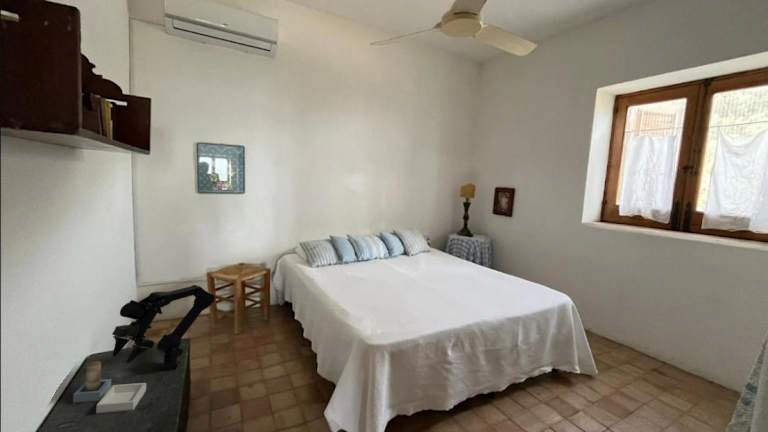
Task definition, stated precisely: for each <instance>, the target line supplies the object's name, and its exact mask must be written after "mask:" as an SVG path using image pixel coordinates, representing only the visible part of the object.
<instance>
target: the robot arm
mask: <svg viewBox="0 0 768 432" xmlns="http://www.w3.org/2000/svg"><path fill="white" fill-rule="evenodd" d="M188 297H195V298H194V300H193V303H192V307H191V308H190V309H189V311H188V312H187V313H186V314H185V316H184V317H183V318H182V319H181V321H180V322H179V323H178V324H177V326H175V328H174V330H173V331H172V332H170V333H168V334H164V335H163V336H162V338H161V339H160V340H159V341H158V342H157V343H158V344H157V345H156V351H157V352H159V353H160V355H163V363H162V366H161V368H160V369H159V370H160V371H173V370H174V371H176V370H177V369H178V367H179V366H180V363H181V360H179V357H180V356H182V355H183V352H184V349H181V348H180V346H181V342H182V338H183V336H185V334H186V332H187V331H188V330H189V329H190V327H191V326H192V324H194V322H195V321H196V320H197V318H198V317H199V316H200V315H201V313H202V312H203V311H204V310H206V309H208V308H210V306H211V305H212V304H213V303H214V301H215V300H216V299H215V295H214V294H213V293H210V292H208V291H207V290H205V289H204V288H203V287H202V286H200V285H196V284H193V285H191V286H187V287H182V288H178V289H174V290H171V291H153V292H150V293H149V295H148V296H146V297H144V298H143V299H141V300H140V301H136V300H133V299H131V300H130V301H128V302H127V303H125V304H124V305H123V306H122V307H121V308H120V311H119V315H120V316H121V317H123V318H127V319H131V320H135V321H131V323H130V324H124V325H123V324H122V325H116V326H115V328H114V330H113V331H112V334H111V335H113V336H112V338H114V341H115V343H114V347H113V352H112V357H116V356H117V355H119V353H121V351H122V349H123V348H124V347H125V346H126V345H127V344H128V343H129V342H130V340H131V341H132V342H133V341H134V344H132V345H131V346H132V350H131V352H130V354H129V357H128V358H127V360H126V361H125V362H126V363H127V364H130V363H131V362H132V361H134V360H135V359H136V358H137V357H139V356H140V355H141V354H143V353H144V352H146V351H148V350H150V349H153V348H154V345H155V341H154V340H152V339H150V338H146V337H147V336H146V335H145V334H146V333H147V332H148V330H149V329H150V330H151V329H152V326H151V324H152V323H153V321H154V319H155V318H156V316H157V314H159V315H162V314H163V311H162V308H164V307H166V306H169V305H170V304H171V303H172V302H174V301H177V300H182V299H184V298H185V299H186V298H188Z"/></svg>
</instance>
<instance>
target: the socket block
mask: <svg viewBox="0 0 768 432" xmlns="http://www.w3.org/2000/svg"><path fill="white" fill-rule="evenodd" d="M111 387H112V378H107V379H101V385H100V389H99V390H98V391H86V381H85V382H84V383H83V384H82V385H81V386H79V388H78V389H77V390H76V391H75V392H74V393H73V394H72V395H73V399H72V400H73V403H76V404H77V403H87V402H88V403H89V402H100V400H101V399H102V398H103V397H104V396H105V394H106V393H107V392H108V391H109V389H110V388H111Z"/></svg>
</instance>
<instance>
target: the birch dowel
mask: <svg viewBox="0 0 768 432" xmlns="http://www.w3.org/2000/svg"><path fill="white" fill-rule="evenodd" d="M101 377H102V362H101V361H100V360H99V361H92V362H89V363H87V364H86V366H85V382H86V391H98V390H99V389H100V385H101V380H102V379H101Z"/></svg>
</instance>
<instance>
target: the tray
mask: <svg viewBox="0 0 768 432" xmlns="http://www.w3.org/2000/svg"><path fill="white" fill-rule="evenodd" d="M146 391H147V382H140V383H125V384H123V383H122V384H113V385H111V387H110V389H109V390H108V391H107V392H106V394H105V395H104V396H103V397H102V398H101V400H100V401H98V403H97V404H96V412H95V413H96V415H97V414H109V413H118V412H128V411H129V412H130V411H134V410H135V408H136V407H137V405H138V403H139V402H140V400H141V399H142V397H143V396H144V395H145V394H146V393H145V392H146Z"/></svg>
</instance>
